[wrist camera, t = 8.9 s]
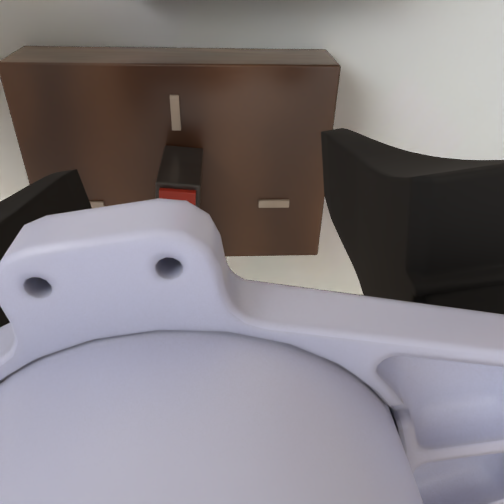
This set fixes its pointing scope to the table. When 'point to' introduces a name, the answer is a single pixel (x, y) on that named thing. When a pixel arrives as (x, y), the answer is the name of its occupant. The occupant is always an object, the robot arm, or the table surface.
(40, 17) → the table surface
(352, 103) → the table surface
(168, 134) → the console
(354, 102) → the table surface
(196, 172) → the dark grey red block
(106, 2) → the table surface
